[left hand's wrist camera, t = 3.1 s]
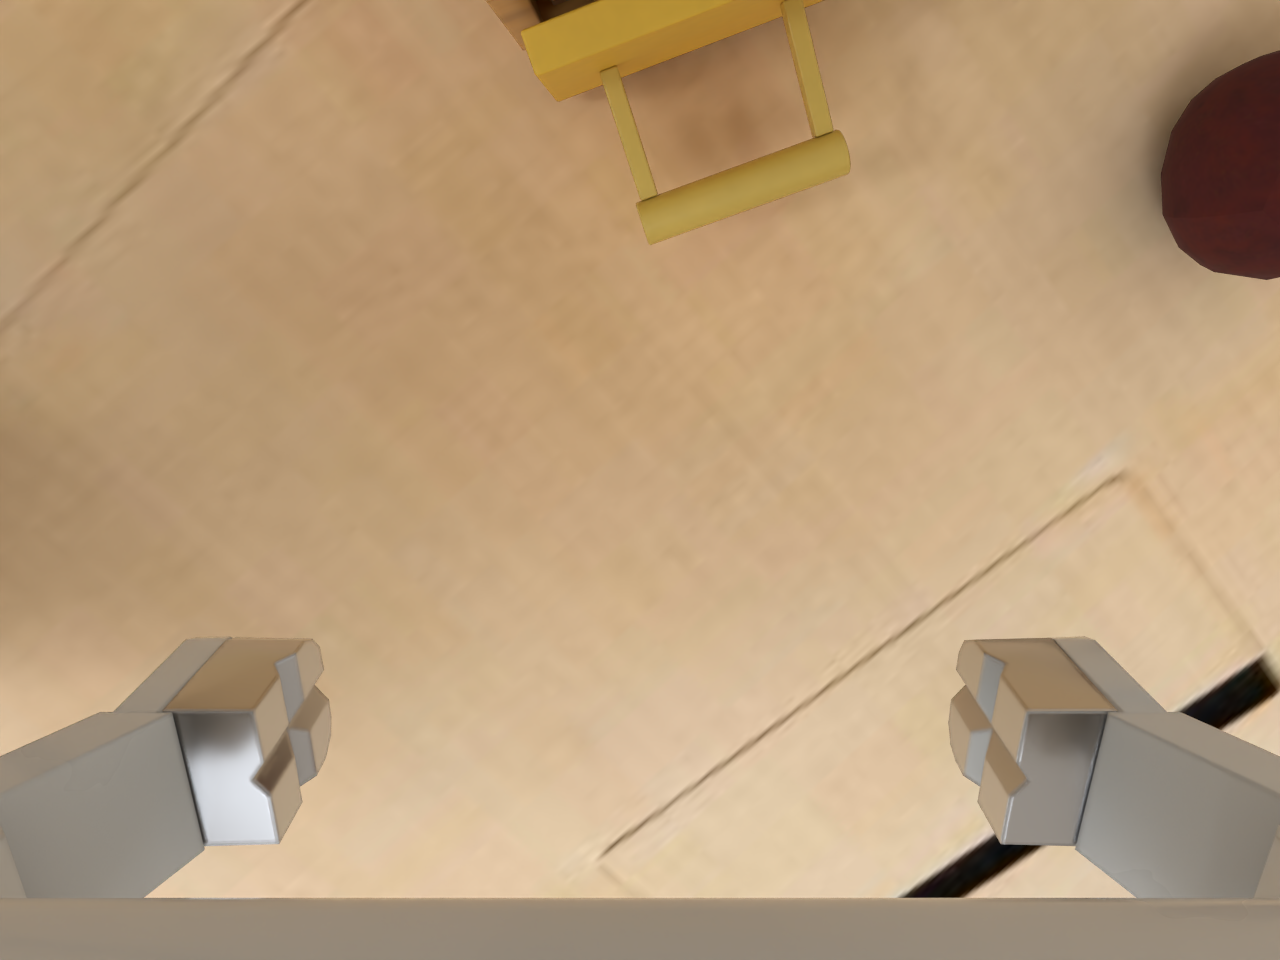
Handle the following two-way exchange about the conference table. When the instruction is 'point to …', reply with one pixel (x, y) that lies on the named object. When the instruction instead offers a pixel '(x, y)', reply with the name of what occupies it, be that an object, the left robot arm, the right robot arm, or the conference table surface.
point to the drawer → (658, 31)
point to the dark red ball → (1228, 173)
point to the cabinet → (530, 13)
